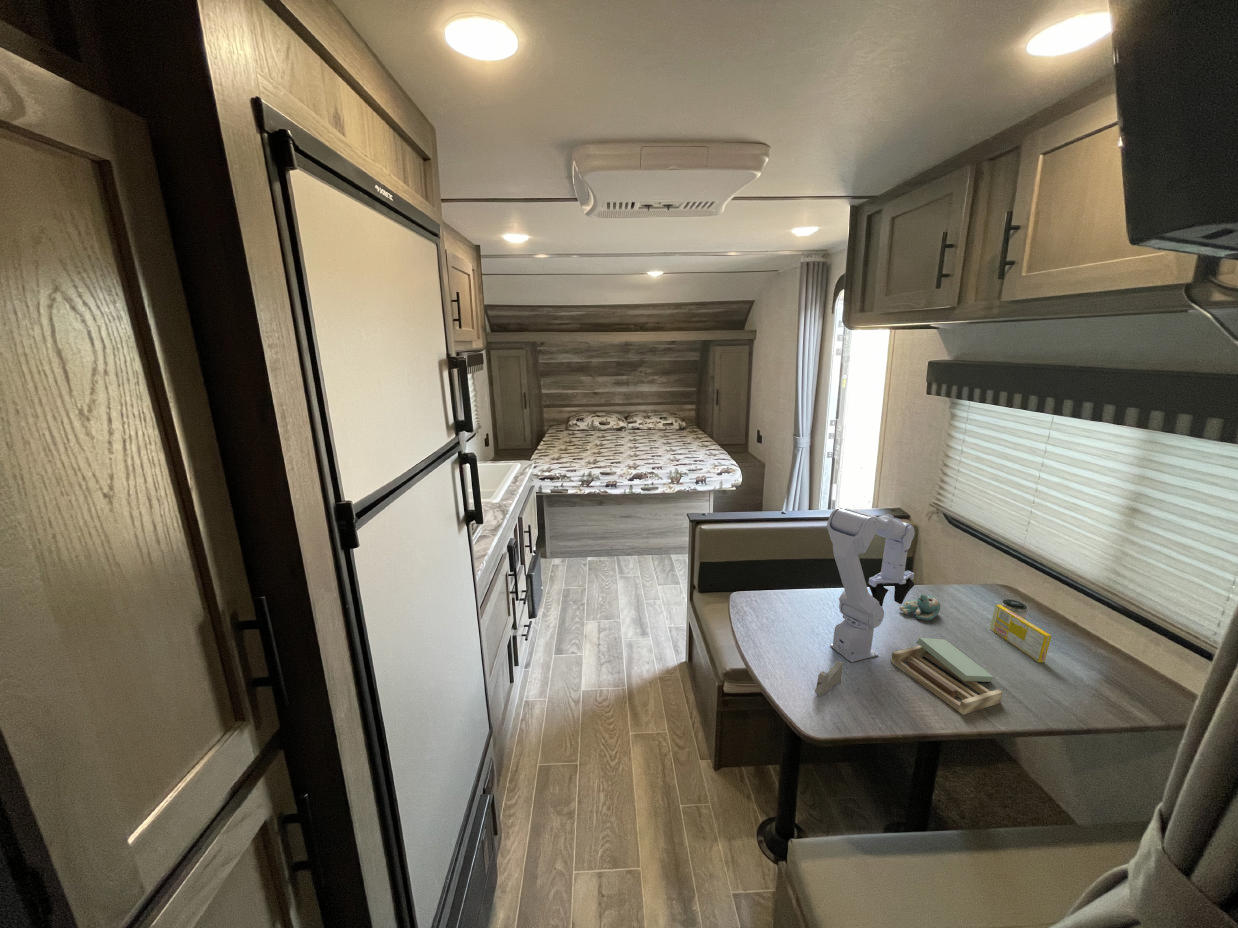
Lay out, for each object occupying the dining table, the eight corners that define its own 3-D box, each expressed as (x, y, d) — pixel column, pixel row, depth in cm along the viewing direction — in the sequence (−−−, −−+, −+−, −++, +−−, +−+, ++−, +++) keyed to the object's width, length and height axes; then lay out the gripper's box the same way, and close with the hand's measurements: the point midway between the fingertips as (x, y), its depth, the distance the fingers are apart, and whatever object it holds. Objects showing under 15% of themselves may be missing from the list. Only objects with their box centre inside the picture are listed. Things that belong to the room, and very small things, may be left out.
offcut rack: (963, 714, 111) (965, 703, 110) (890, 661, 129) (892, 652, 128) (1000, 702, 114) (1002, 691, 113) (924, 653, 133) (926, 643, 132)
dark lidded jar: (1027, 633, 142) (1033, 609, 140) (1002, 630, 143) (1007, 606, 141) (1016, 622, 147) (1021, 598, 146) (992, 619, 149) (997, 596, 147)
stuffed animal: (890, 590, 156) (926, 582, 156) (891, 609, 158) (927, 602, 158) (911, 607, 146) (950, 599, 146) (912, 628, 147) (951, 620, 148)
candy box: (1046, 662, 129) (1052, 635, 127) (1038, 663, 129) (1045, 635, 127) (995, 628, 144) (1000, 603, 142) (988, 628, 144) (993, 603, 142)
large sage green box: (990, 681, 121) (963, 680, 118) (942, 644, 134) (916, 642, 131) (993, 676, 121) (966, 675, 118) (945, 639, 134) (919, 637, 130)
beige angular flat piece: (840, 682, 121) (818, 699, 116) (835, 679, 123) (813, 695, 117) (843, 662, 120) (820, 678, 114) (838, 660, 121) (815, 675, 115)
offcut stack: (951, 701, 115) (952, 691, 114) (907, 670, 126) (909, 660, 125) (958, 699, 116) (960, 688, 115) (914, 668, 127) (916, 658, 126)
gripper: (885, 571, 131) (879, 615, 134) (926, 563, 135) (919, 607, 138) (865, 560, 137) (859, 603, 140) (904, 553, 141) (898, 595, 145)
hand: (887, 604), depth 140 cm, fingers open, 7 cm apart
